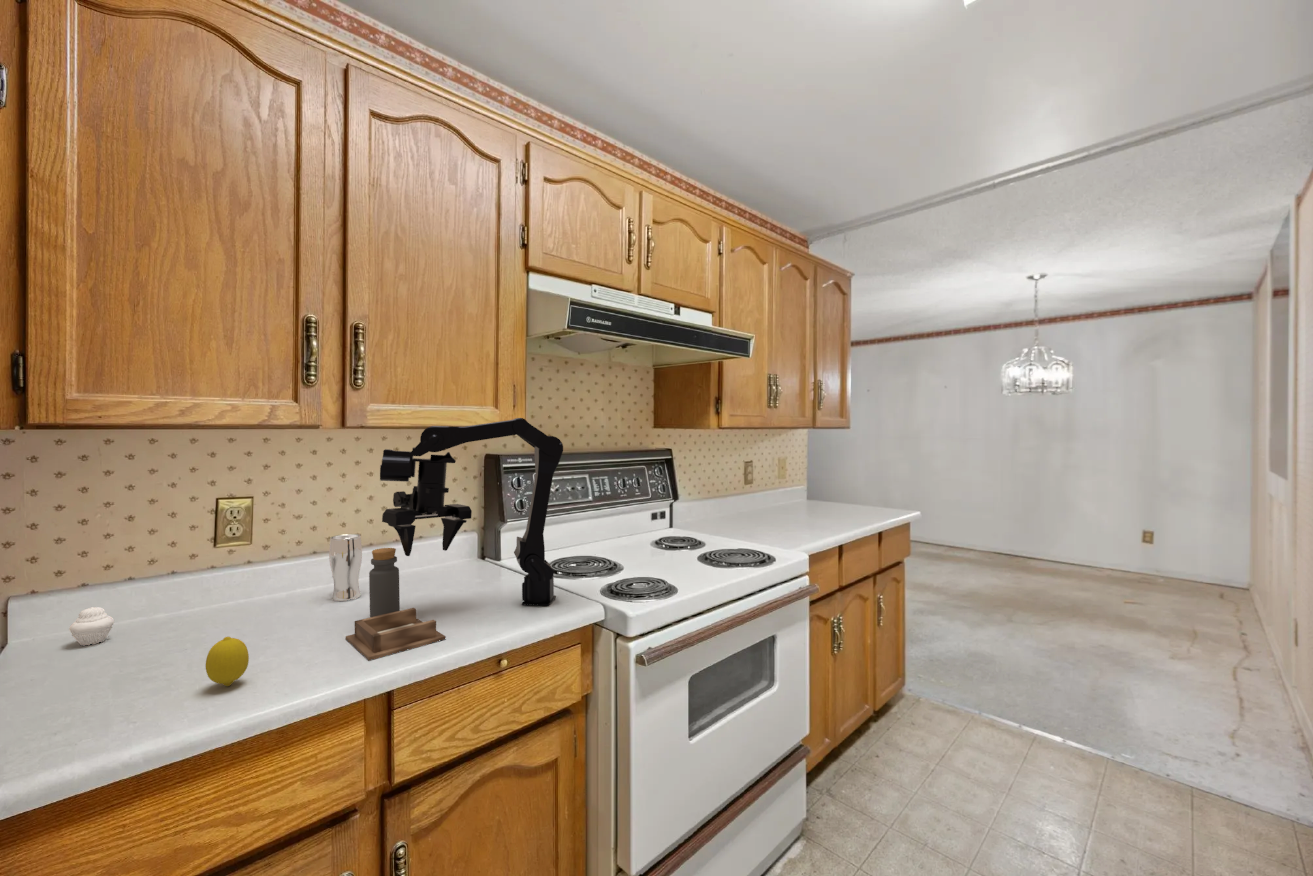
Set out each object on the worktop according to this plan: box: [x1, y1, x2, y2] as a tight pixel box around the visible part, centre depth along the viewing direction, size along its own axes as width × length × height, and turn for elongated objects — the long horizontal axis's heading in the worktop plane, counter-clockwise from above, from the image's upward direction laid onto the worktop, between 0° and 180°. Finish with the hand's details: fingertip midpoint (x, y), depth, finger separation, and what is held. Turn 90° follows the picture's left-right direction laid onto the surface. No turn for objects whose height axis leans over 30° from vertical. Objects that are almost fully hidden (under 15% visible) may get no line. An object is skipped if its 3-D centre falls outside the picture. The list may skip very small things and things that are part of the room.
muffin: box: [68, 606, 115, 647], centre depth 108 cm, size 6×6×7 cm
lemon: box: [205, 636, 250, 687], centre depth 90 cm, size 6×6×8 cm
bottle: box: [368, 547, 401, 618], centre depth 121 cm, size 6×6×15 cm
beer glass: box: [328, 533, 363, 602], centre depth 136 cm, size 7×7×15 cm
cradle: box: [345, 607, 447, 661], centre depth 109 cm, size 14×14×4 cm
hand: (426, 553), depth 123 cm, fingers open, 9 cm apart
